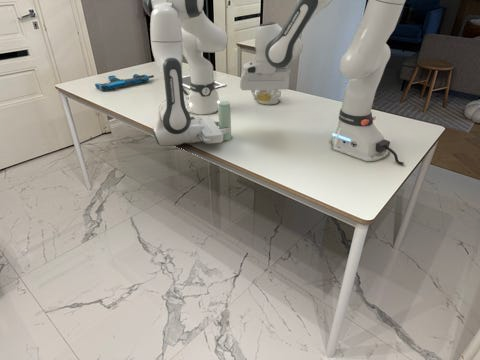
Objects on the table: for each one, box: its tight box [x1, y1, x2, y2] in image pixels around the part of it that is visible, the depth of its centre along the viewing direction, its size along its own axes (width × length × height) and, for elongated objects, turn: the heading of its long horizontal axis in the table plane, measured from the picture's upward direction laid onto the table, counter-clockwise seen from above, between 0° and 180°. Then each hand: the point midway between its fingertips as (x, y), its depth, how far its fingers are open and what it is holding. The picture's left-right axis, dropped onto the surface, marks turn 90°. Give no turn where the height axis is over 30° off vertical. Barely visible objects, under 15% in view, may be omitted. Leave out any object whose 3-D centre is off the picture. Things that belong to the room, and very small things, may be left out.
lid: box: [256, 93, 271, 101], centre depth 143 cm, size 6×6×2 cm
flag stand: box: [255, 90, 282, 105], centre depth 173 cm, size 13×13×30 cm
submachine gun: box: [94, 73, 155, 91], centre depth 208 cm, size 34×4×25 cm
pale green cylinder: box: [217, 100, 232, 141], centre depth 140 cm, size 5×5×16 cm
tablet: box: [182, 74, 227, 90], centre depth 208 cm, size 32×20×1 cm, turn 41°
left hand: (227, 126), depth 142 cm, fingers closed on pale green cylinder, 5 cm apart
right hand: (263, 99), depth 143 cm, fingers closed on lid, 6 cm apart
